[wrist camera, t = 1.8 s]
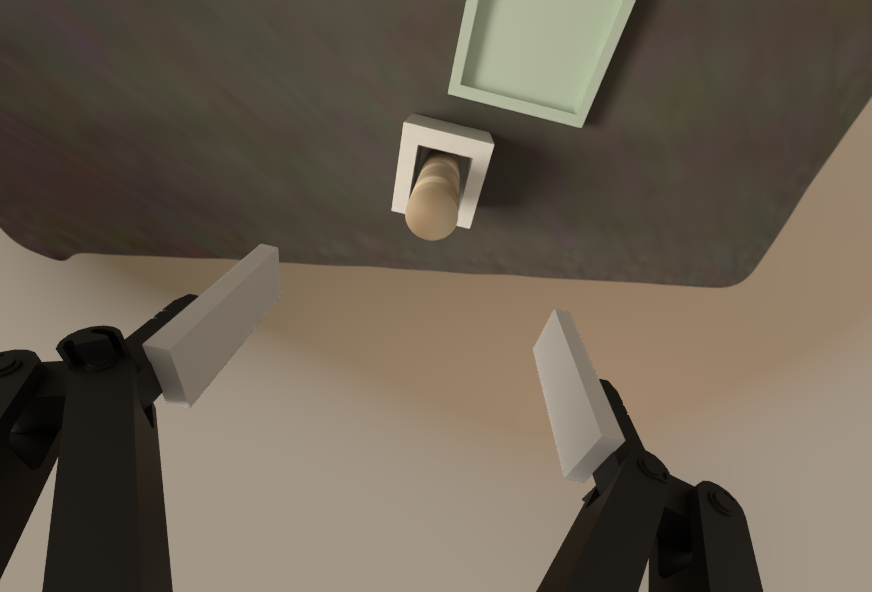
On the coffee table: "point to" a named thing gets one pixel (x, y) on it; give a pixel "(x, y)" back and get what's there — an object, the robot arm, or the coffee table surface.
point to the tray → (537, 54)
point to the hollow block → (451, 138)
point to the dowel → (435, 197)
